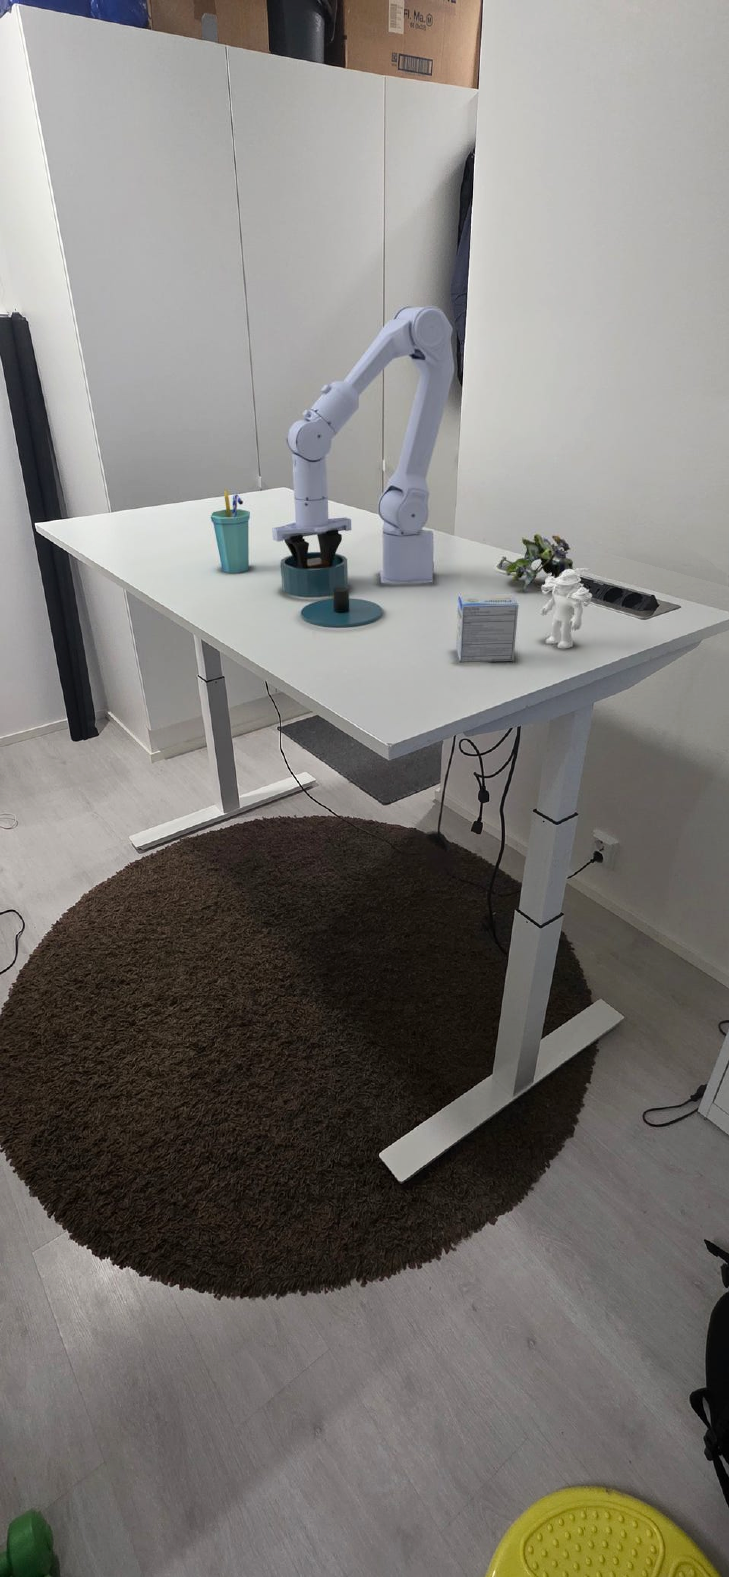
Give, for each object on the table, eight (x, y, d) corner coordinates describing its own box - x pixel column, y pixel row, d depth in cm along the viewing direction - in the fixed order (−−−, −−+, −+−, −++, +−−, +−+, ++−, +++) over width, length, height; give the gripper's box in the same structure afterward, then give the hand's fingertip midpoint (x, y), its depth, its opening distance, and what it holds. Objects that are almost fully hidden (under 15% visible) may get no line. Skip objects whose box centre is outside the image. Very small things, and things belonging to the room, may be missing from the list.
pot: (348, 580, 152) (347, 551, 149) (347, 600, 142) (346, 569, 139) (285, 581, 152) (283, 552, 149) (280, 601, 142) (278, 570, 139)
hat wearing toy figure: (590, 650, 119) (601, 569, 113) (570, 655, 118) (580, 573, 112) (549, 632, 126) (557, 554, 120) (529, 637, 125) (537, 558, 118)
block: (319, 579, 149) (318, 557, 147) (330, 584, 146) (329, 562, 144) (300, 583, 147) (299, 560, 145) (310, 588, 144) (309, 565, 142)
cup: (267, 576, 155) (261, 494, 147) (228, 582, 152) (219, 499, 144) (245, 559, 166) (238, 482, 158) (208, 564, 163) (199, 486, 155)
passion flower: (552, 614, 150) (595, 567, 141) (512, 615, 143) (555, 567, 135) (522, 568, 154) (562, 520, 145) (482, 567, 147) (522, 517, 139)
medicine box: (508, 651, 120) (513, 593, 115) (514, 662, 116) (519, 603, 111) (455, 652, 120) (457, 594, 115) (459, 664, 116) (462, 604, 111)
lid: (381, 603, 140) (381, 576, 137) (383, 630, 128) (383, 601, 126) (303, 605, 140) (302, 578, 137) (298, 631, 128) (297, 602, 126)
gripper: (282, 506, 133) (288, 588, 140) (359, 496, 139) (360, 575, 146) (264, 499, 138) (270, 578, 145) (339, 489, 144) (341, 566, 151)
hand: (314, 576), depth 146 cm, fingers closed on block, 4 cm apart
